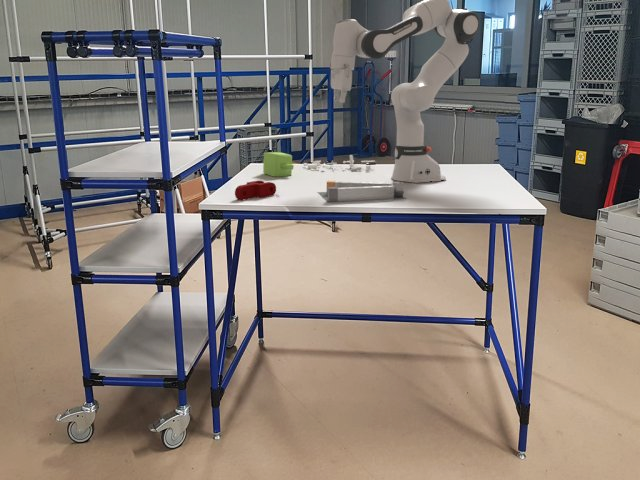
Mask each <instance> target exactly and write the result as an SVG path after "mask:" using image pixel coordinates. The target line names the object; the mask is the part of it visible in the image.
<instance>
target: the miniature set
mask: <svg viewBox="0 0 640 480" xmlns="http://www.w3.org/2000/svg"><path fill="white" fill-rule="evenodd" d="M360 161H361V164H360V163H359V164H354V163H355V160H354V155H352V154H350V155H349V160H347V161H346V160H343V164H346V163H349V164H348V166H349V168H350V171H351V172H356V171H362V170H363V166H362V165H363V164H362V163H365V166H366V167H365V168H366V170H365V171H371V168H372V167H371V166H376V163H374V160H360ZM321 162H322V160H313V162H312V163H307V162H303V166H304V167H307V169H308V170H311V171H312V172H315V171H316V172H317V171H320V168H318V167H321V166H322V168H323V169H324V168H327V167H330V168H331V167H332V171H335V168H336V167H342V164H338V163H337V162H334V160H330V161H329V160H328V161H327V160H326V162H324V163H323V164H321ZM370 162H372V163H370ZM346 170H347V169H346V168H341V171H342V172H345V171H346Z"/></svg>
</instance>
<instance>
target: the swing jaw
mask: <svg viewBox="0 0 640 480" xmlns="http://www.w3.org/2000/svg"><path fill="white" fill-rule="evenodd" d="M370 186H392V182H371V181H370V182H369V181H336V180H327V181H326V192H327V193H328V187H337V188H346V187H370Z"/></svg>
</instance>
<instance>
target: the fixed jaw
mask: <svg viewBox="0 0 640 480" xmlns="http://www.w3.org/2000/svg"><path fill="white" fill-rule="evenodd" d="M404 192H405V181H393V182H391V186H370V187H346V188H337V187H328V196H327V200H328V201H329V202H333V203H339V202H338V201H354V202H360V201H359V200H375V201H381V200H380V199H394V198H403V197H405V196H404V195H405V193H404Z"/></svg>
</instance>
